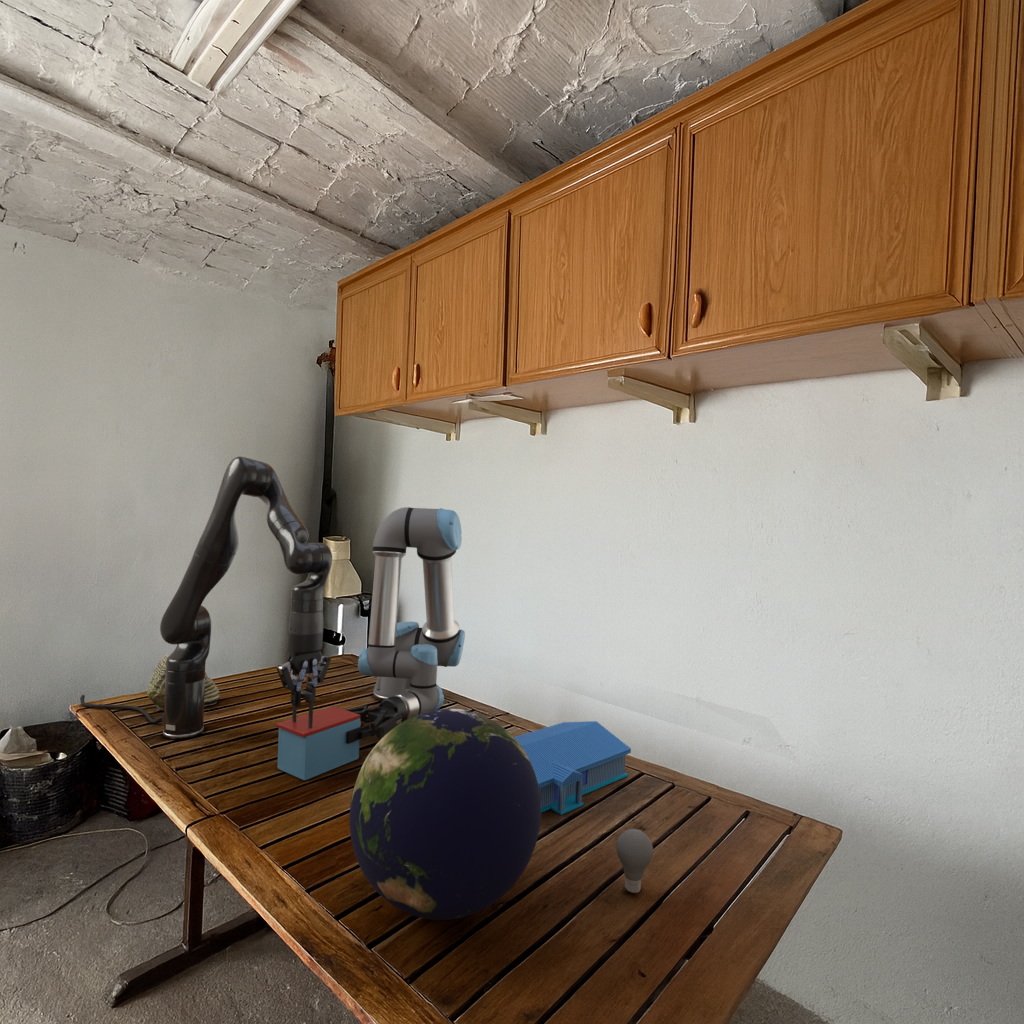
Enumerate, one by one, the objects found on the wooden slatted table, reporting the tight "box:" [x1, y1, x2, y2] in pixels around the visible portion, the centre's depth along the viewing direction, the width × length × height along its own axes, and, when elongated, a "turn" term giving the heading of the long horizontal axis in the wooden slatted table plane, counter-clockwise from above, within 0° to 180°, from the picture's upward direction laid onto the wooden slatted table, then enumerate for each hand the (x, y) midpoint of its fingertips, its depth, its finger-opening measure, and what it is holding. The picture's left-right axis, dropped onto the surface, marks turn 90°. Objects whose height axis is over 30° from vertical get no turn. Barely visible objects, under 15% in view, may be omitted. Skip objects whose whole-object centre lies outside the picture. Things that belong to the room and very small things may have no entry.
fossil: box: [147, 654, 221, 712], centre depth 185 cm, size 9×18×15 cm, turn 132°
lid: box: [276, 689, 360, 737], centre depth 150 cm, size 16×10×9 cm, turn 146°
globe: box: [349, 708, 542, 921], centre depth 100 cm, size 30×30×30 cm
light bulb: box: [615, 828, 654, 894], centre depth 106 cm, size 6×6×10 cm
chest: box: [277, 718, 361, 781], centre depth 150 cm, size 16×10×10 cm, turn 146°
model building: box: [513, 720, 632, 816], centre depth 144 cm, size 39×24×10 cm, turn 132°
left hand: (303, 704), depth 146 cm, fingers open, 3 cm apart
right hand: (332, 732), depth 153 cm, fingers closed on chest, 10 cm apart
